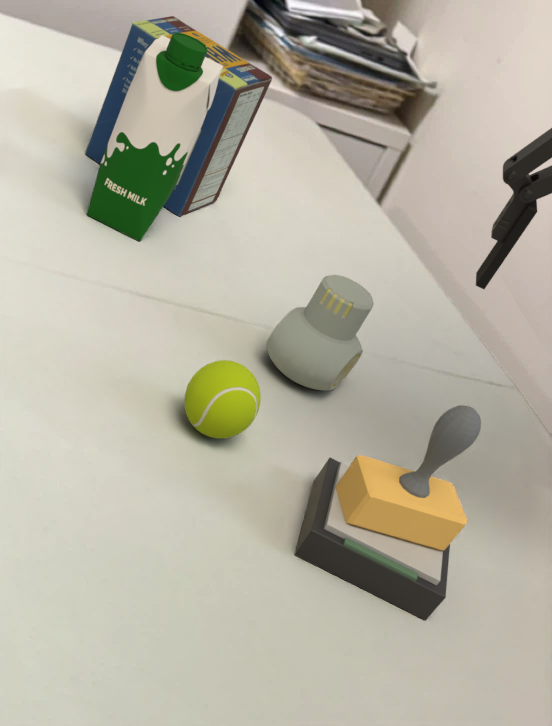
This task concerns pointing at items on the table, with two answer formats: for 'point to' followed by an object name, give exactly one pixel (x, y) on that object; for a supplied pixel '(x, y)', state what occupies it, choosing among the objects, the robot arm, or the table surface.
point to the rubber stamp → (412, 488)
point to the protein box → (221, 124)
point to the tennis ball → (222, 399)
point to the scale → (369, 552)
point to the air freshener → (322, 334)
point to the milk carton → (154, 133)
